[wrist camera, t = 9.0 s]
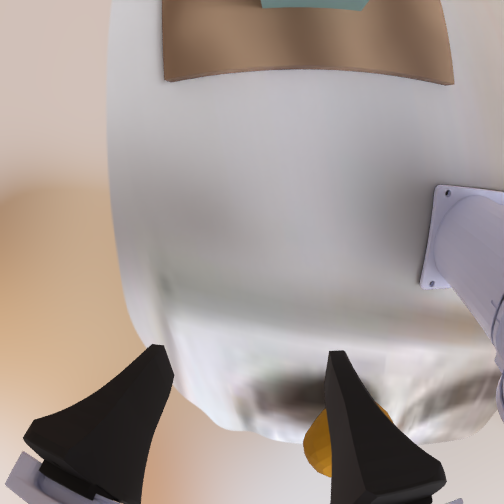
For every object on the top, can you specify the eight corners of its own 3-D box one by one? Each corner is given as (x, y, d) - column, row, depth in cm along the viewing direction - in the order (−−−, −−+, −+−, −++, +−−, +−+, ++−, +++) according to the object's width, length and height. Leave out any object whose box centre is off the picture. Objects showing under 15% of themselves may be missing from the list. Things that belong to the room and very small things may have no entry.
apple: (307, 374, 24) (309, 459, 16) (397, 370, 24) (419, 446, 15) (299, 422, 28) (297, 491, 20) (373, 419, 27) (383, 483, 19)
